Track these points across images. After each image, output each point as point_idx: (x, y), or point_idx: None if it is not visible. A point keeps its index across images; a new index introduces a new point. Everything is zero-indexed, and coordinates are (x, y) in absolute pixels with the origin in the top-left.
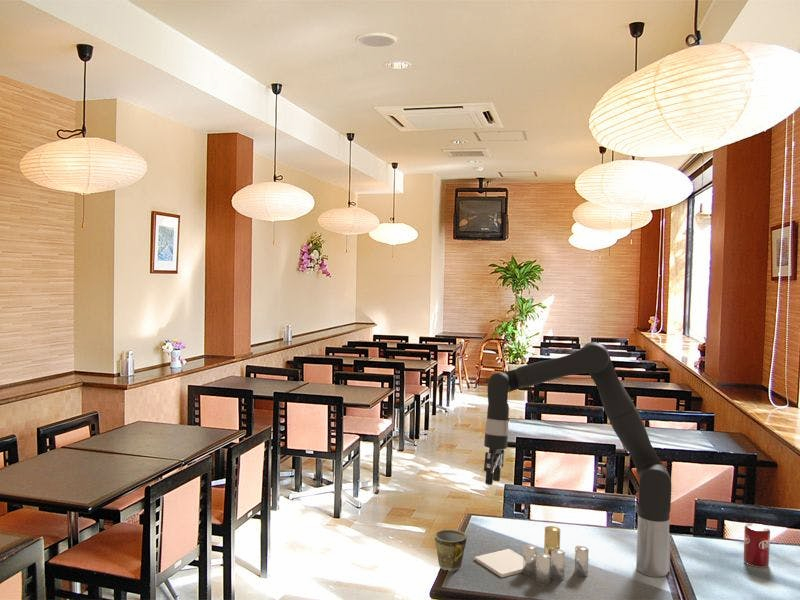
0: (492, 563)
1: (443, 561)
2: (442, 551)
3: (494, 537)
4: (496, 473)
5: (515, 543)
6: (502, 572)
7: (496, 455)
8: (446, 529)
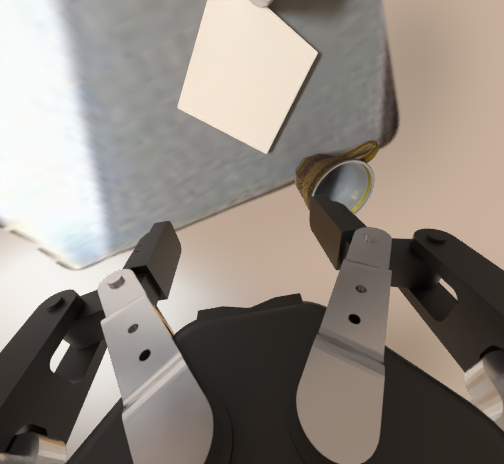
0: (276, 103)
1: (337, 178)
2: (352, 185)
3: (132, 178)
4: (165, 264)
5: (116, 116)
6: (309, 55)
7: (380, 434)
8: None
